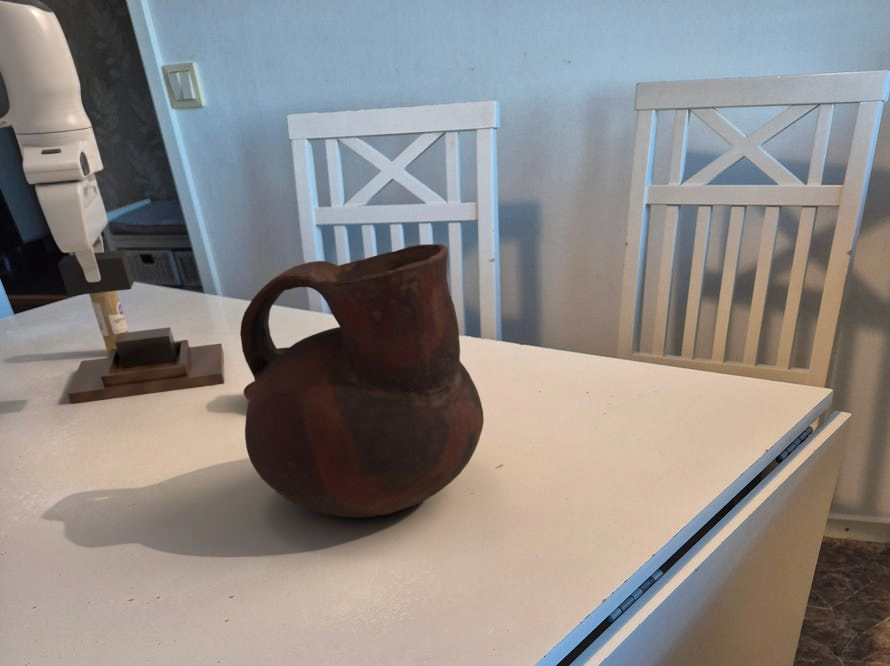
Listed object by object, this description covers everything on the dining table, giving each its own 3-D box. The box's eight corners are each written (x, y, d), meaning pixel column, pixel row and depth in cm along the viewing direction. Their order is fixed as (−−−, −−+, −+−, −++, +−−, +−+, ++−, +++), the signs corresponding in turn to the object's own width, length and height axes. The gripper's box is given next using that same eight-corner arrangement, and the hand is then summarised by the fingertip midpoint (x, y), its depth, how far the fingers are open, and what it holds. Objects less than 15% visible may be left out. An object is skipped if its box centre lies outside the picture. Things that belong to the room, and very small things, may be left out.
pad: (68, 296, 111) (57, 263, 108) (73, 287, 115) (63, 255, 112) (131, 289, 112) (122, 257, 110) (134, 280, 116) (125, 249, 113)
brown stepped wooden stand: (70, 403, 122) (57, 366, 119) (84, 370, 135) (72, 335, 132) (224, 383, 126) (215, 346, 123) (223, 352, 139) (215, 318, 135)
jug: (345, 435, 107) (311, 220, 92) (523, 465, 97) (517, 228, 82) (211, 522, 90) (143, 274, 75) (411, 569, 79) (378, 293, 65)
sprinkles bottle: (134, 353, 141) (108, 268, 133) (105, 357, 140) (78, 271, 132) (135, 346, 144) (111, 262, 136) (108, 349, 143) (81, 265, 135)
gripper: (49, 151, 112) (84, 262, 120) (19, 169, 96) (61, 296, 104) (99, 147, 113) (129, 257, 121) (77, 164, 97) (114, 290, 105)
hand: (98, 275), depth 112 cm, fingers closed on pad, 5 cm apart
